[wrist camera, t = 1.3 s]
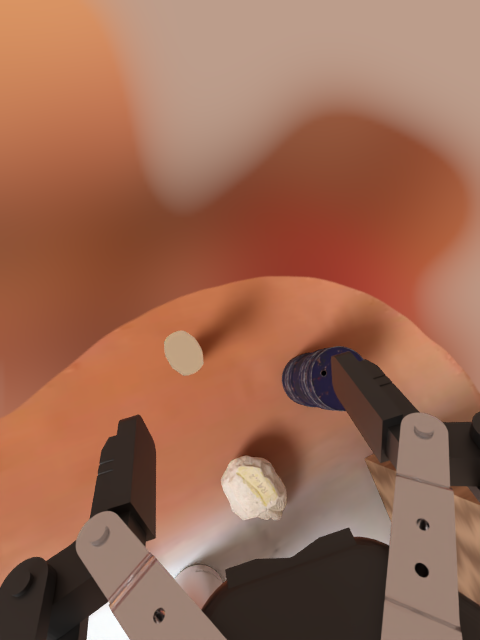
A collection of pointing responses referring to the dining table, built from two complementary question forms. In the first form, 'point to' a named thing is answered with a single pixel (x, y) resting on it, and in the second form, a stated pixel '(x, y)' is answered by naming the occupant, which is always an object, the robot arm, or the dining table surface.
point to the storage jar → (313, 378)
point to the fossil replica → (254, 488)
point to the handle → (183, 353)
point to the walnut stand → (470, 525)
